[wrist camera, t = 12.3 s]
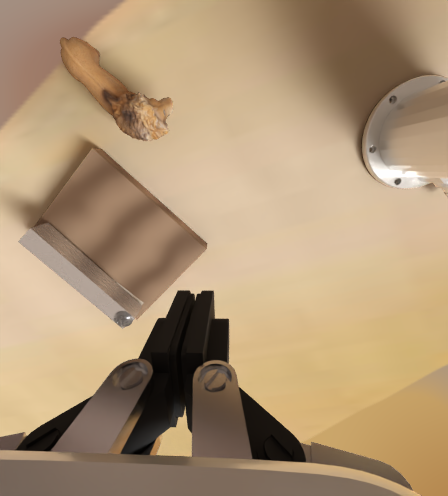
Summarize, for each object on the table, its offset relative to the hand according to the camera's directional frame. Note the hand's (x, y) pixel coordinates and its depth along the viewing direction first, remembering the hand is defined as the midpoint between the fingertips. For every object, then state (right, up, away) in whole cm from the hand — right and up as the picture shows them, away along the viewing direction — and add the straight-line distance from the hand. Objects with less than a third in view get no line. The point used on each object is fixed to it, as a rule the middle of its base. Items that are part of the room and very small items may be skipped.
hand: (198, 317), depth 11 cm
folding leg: (-16, 0, +21) cm, 27 cm away
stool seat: (-13, +5, +23) cm, 26 cm away
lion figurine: (-10, +21, +18) cm, 29 cm away
